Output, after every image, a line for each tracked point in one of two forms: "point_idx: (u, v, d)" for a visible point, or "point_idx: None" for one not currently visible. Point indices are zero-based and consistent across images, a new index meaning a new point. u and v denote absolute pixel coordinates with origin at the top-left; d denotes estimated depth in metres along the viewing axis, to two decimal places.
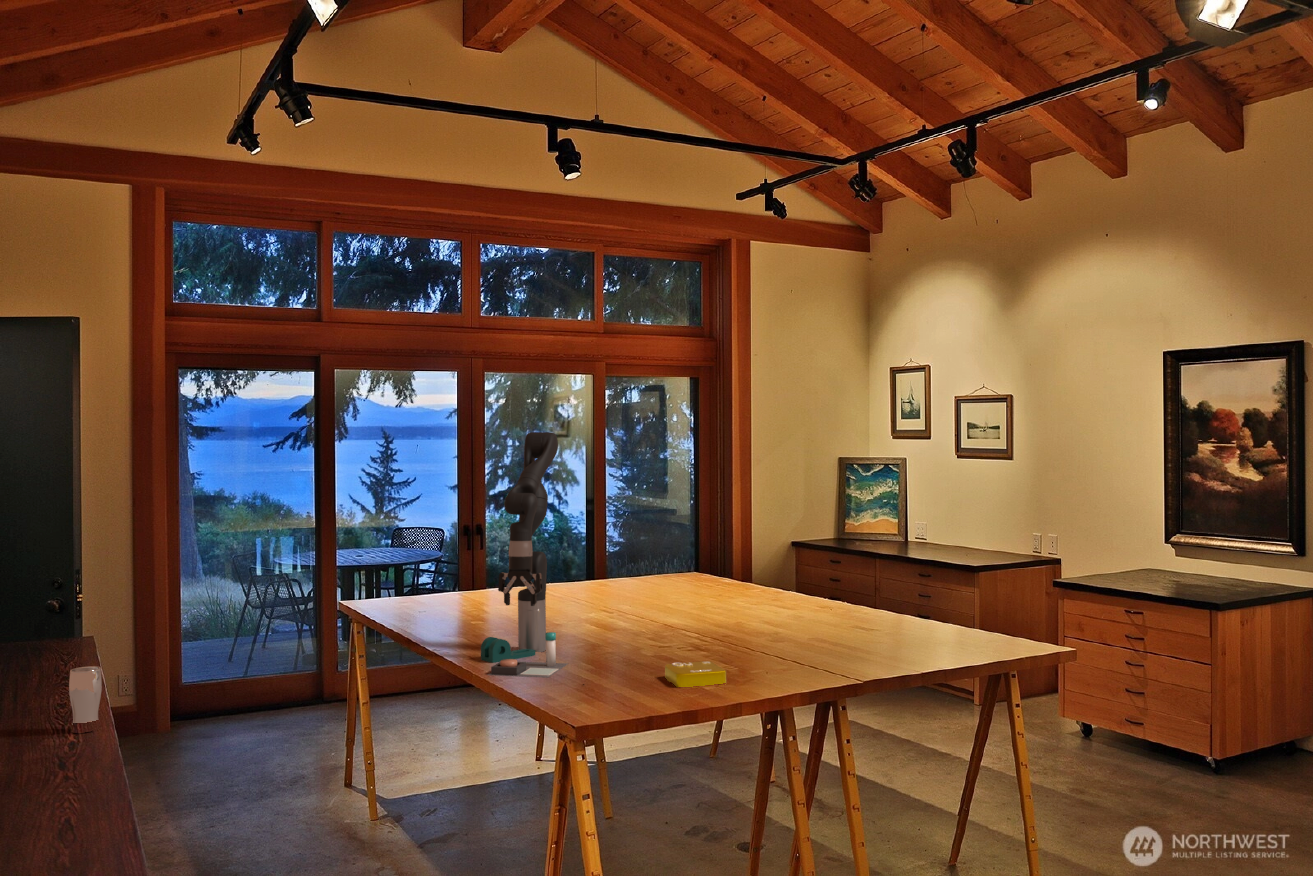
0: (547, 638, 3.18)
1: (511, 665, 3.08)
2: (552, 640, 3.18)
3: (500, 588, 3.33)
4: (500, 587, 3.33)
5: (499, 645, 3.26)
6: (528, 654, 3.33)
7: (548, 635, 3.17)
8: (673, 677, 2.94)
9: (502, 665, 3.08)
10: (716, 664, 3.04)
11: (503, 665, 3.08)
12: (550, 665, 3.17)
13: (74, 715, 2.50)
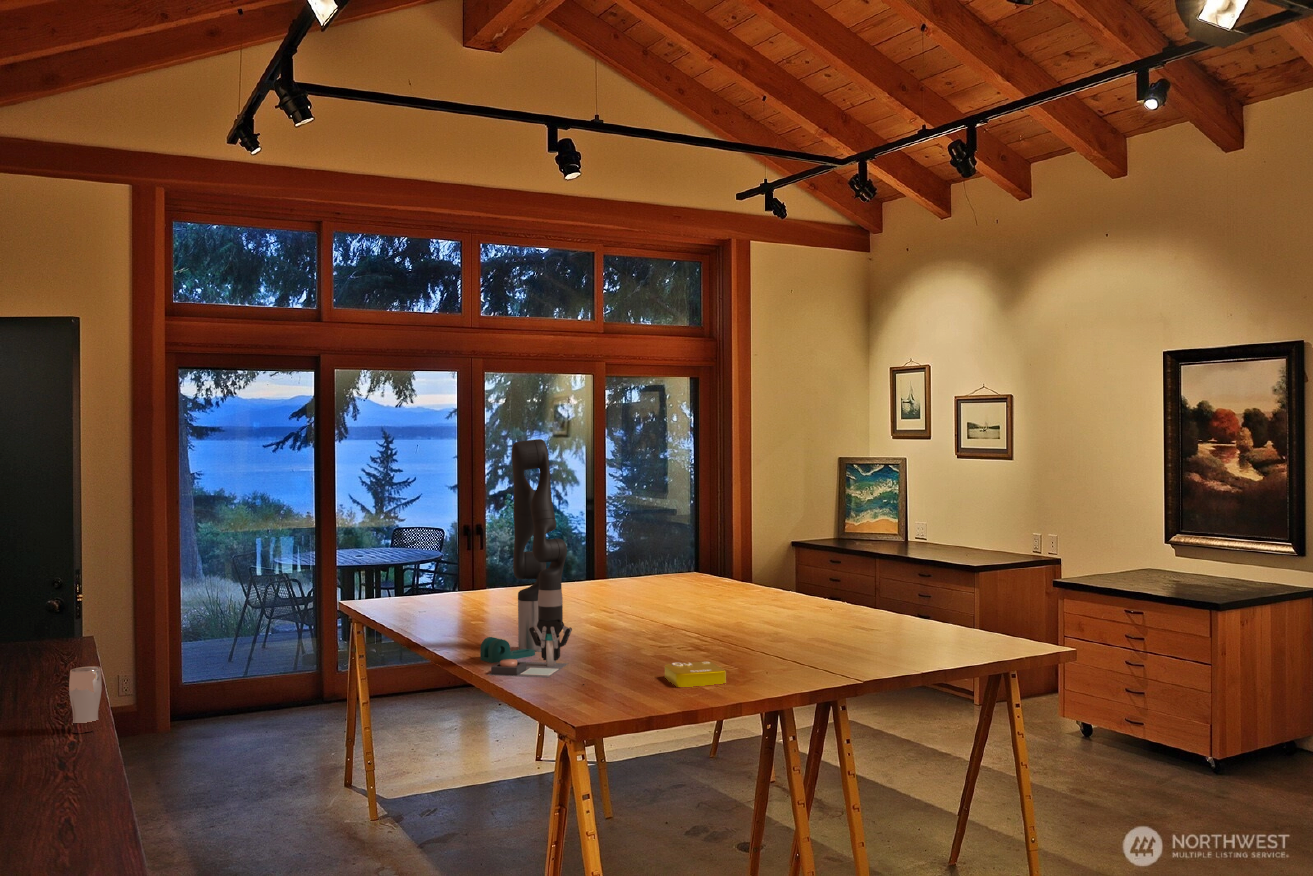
0: (547, 638, 3.18)
1: (511, 665, 3.08)
2: (552, 640, 3.18)
3: (537, 642, 3.19)
4: (536, 641, 3.19)
5: (499, 645, 3.26)
6: (528, 654, 3.33)
7: (548, 635, 3.17)
8: (673, 676, 2.94)
9: (502, 665, 3.08)
10: (715, 664, 3.04)
11: (503, 665, 3.08)
12: (550, 665, 3.17)
13: (74, 715, 2.50)
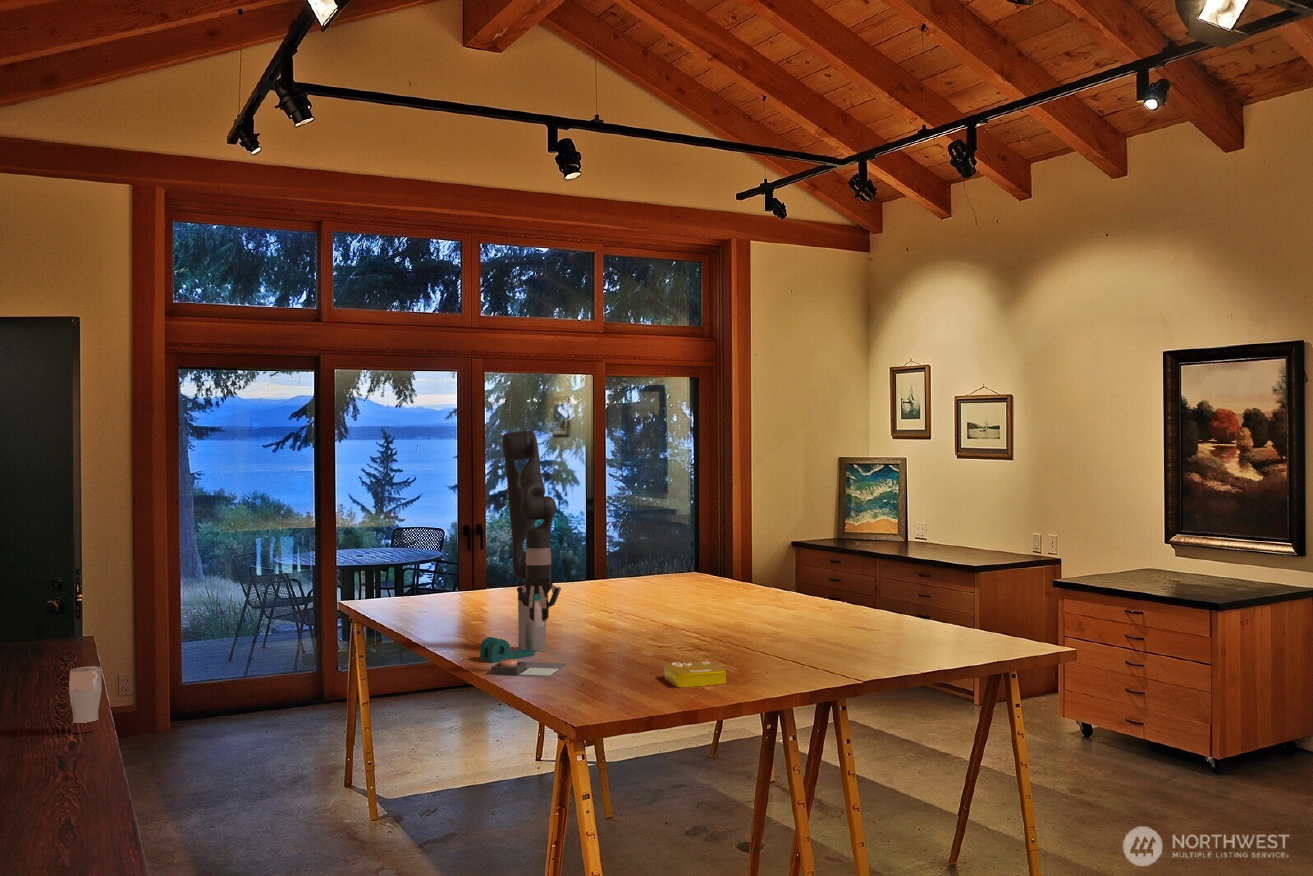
0: (535, 598, 3.09)
1: (511, 665, 3.08)
2: (540, 600, 3.09)
3: (525, 602, 3.10)
4: (524, 601, 3.10)
5: (498, 645, 3.25)
6: (527, 654, 3.33)
7: (536, 595, 3.09)
8: (673, 677, 2.94)
9: (502, 665, 3.08)
10: (715, 664, 3.04)
11: (503, 665, 3.08)
12: (538, 625, 3.09)
13: (74, 715, 2.50)
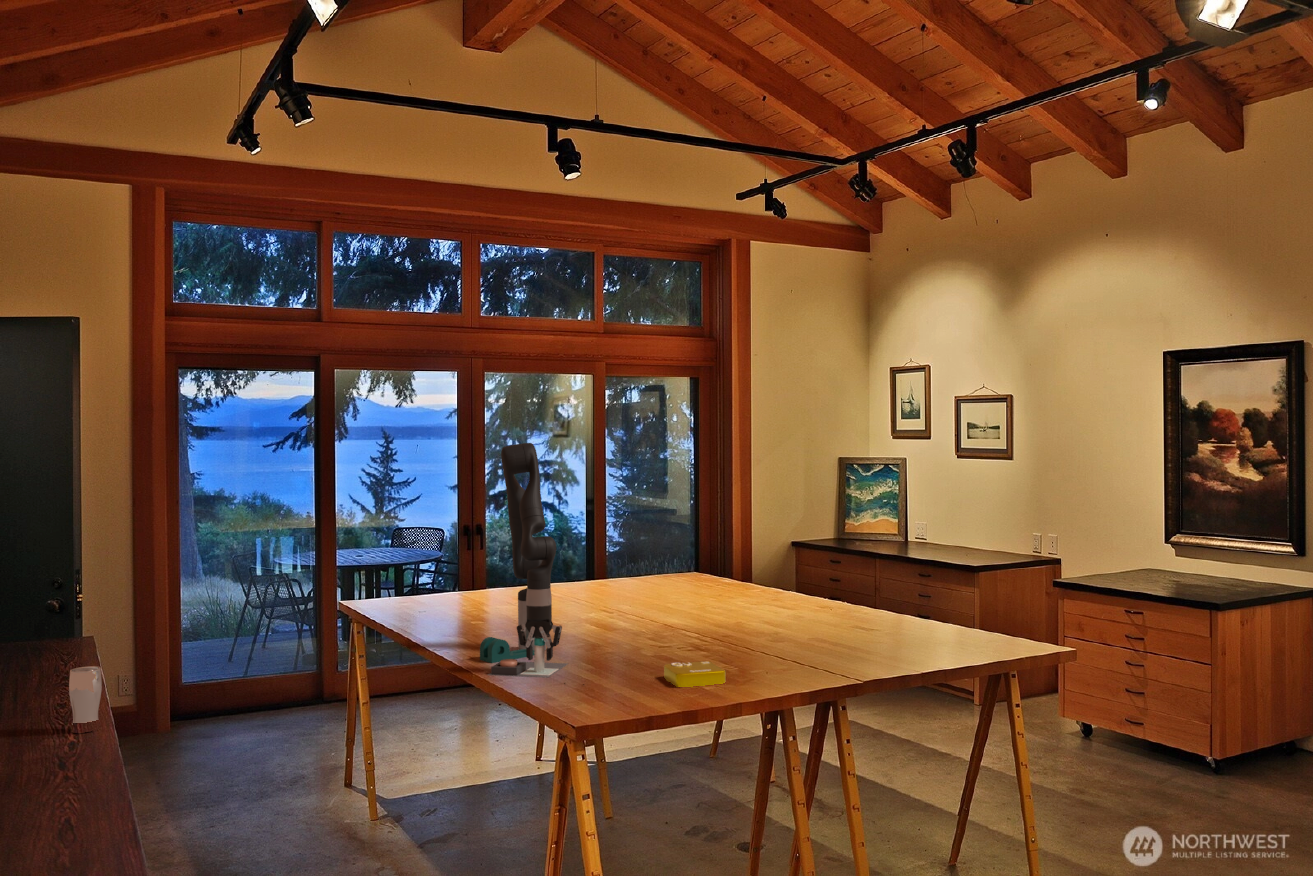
0: (536, 643, 3.09)
1: (511, 665, 3.08)
2: (541, 645, 3.09)
3: (522, 642, 3.10)
4: (521, 641, 3.10)
5: (498, 645, 3.25)
6: None
7: (537, 640, 3.09)
8: (673, 677, 2.94)
9: (502, 665, 3.08)
10: (715, 664, 3.04)
11: (503, 665, 3.08)
12: (539, 670, 3.09)
13: (74, 715, 2.50)
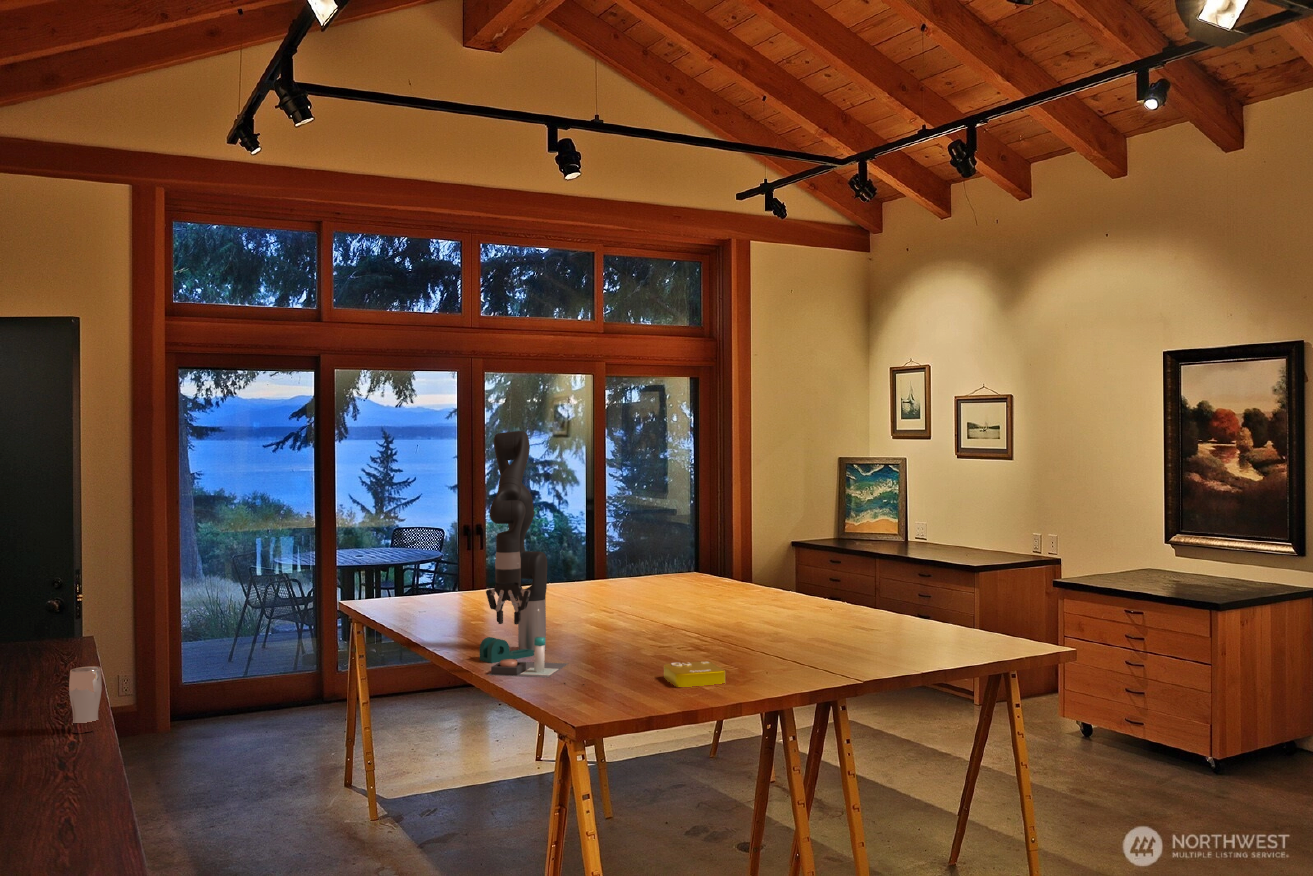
0: (536, 643, 3.09)
1: (511, 665, 3.08)
2: (541, 645, 3.09)
3: (492, 606, 3.10)
4: (491, 605, 3.10)
5: (498, 645, 3.25)
6: (527, 654, 3.33)
7: (537, 640, 3.09)
8: (673, 677, 2.94)
9: (502, 665, 3.08)
10: (714, 664, 3.04)
11: (503, 665, 3.08)
12: (539, 670, 3.09)
13: (74, 715, 2.50)
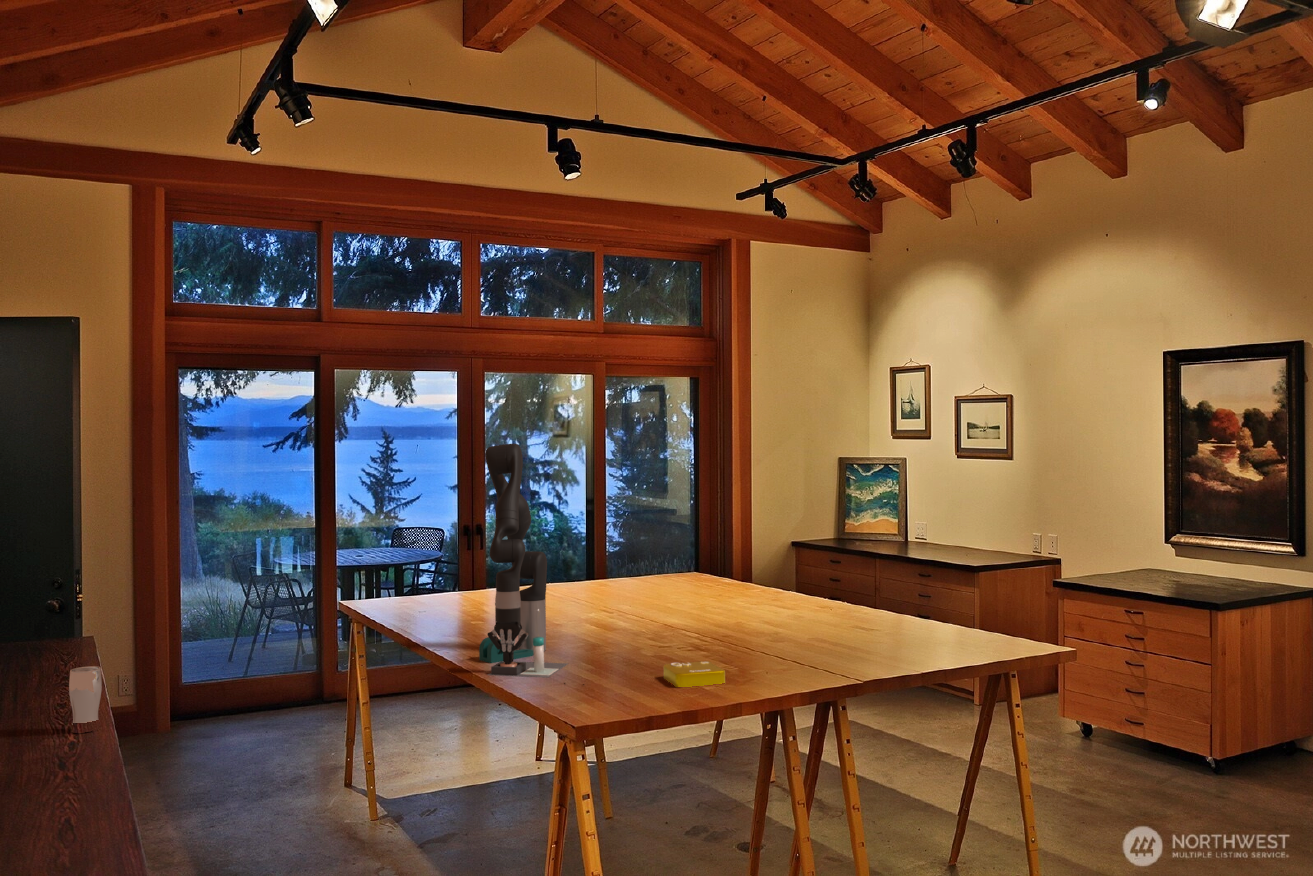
0: (534, 643, 3.09)
1: None
2: (540, 645, 3.09)
3: (499, 646, 3.10)
4: (497, 645, 3.10)
5: None
6: (527, 654, 3.33)
7: (535, 640, 3.09)
8: (672, 677, 2.94)
9: None
10: (714, 664, 3.04)
11: None
12: (538, 670, 3.09)
13: (74, 715, 2.50)
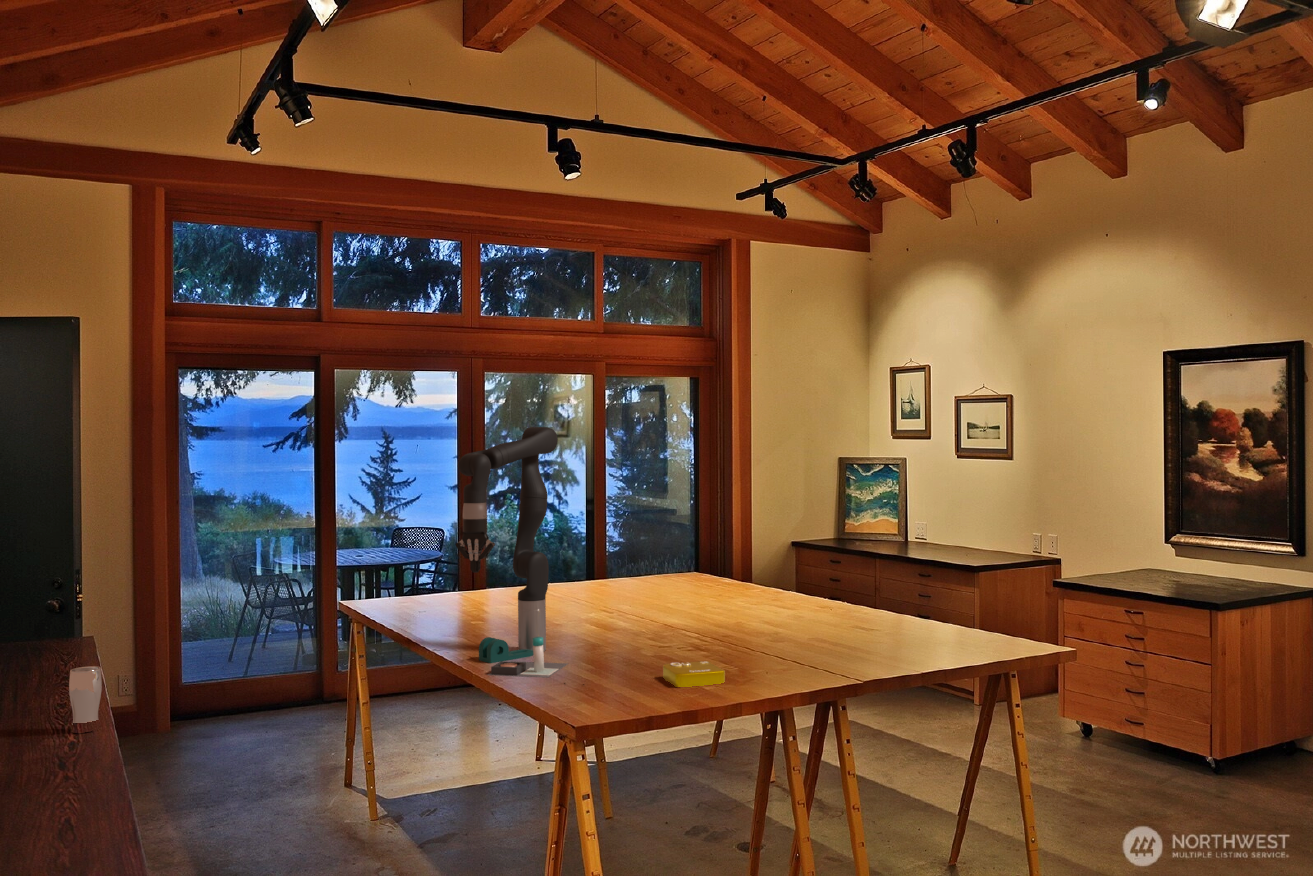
0: (534, 643, 3.09)
1: None
2: (539, 645, 3.09)
3: (466, 555, 3.25)
4: (465, 554, 3.25)
5: (497, 645, 3.25)
6: (526, 654, 3.33)
7: (535, 640, 3.09)
8: (672, 677, 2.94)
9: None
10: (714, 664, 3.04)
11: None
12: (538, 670, 3.09)
13: (74, 715, 2.50)
